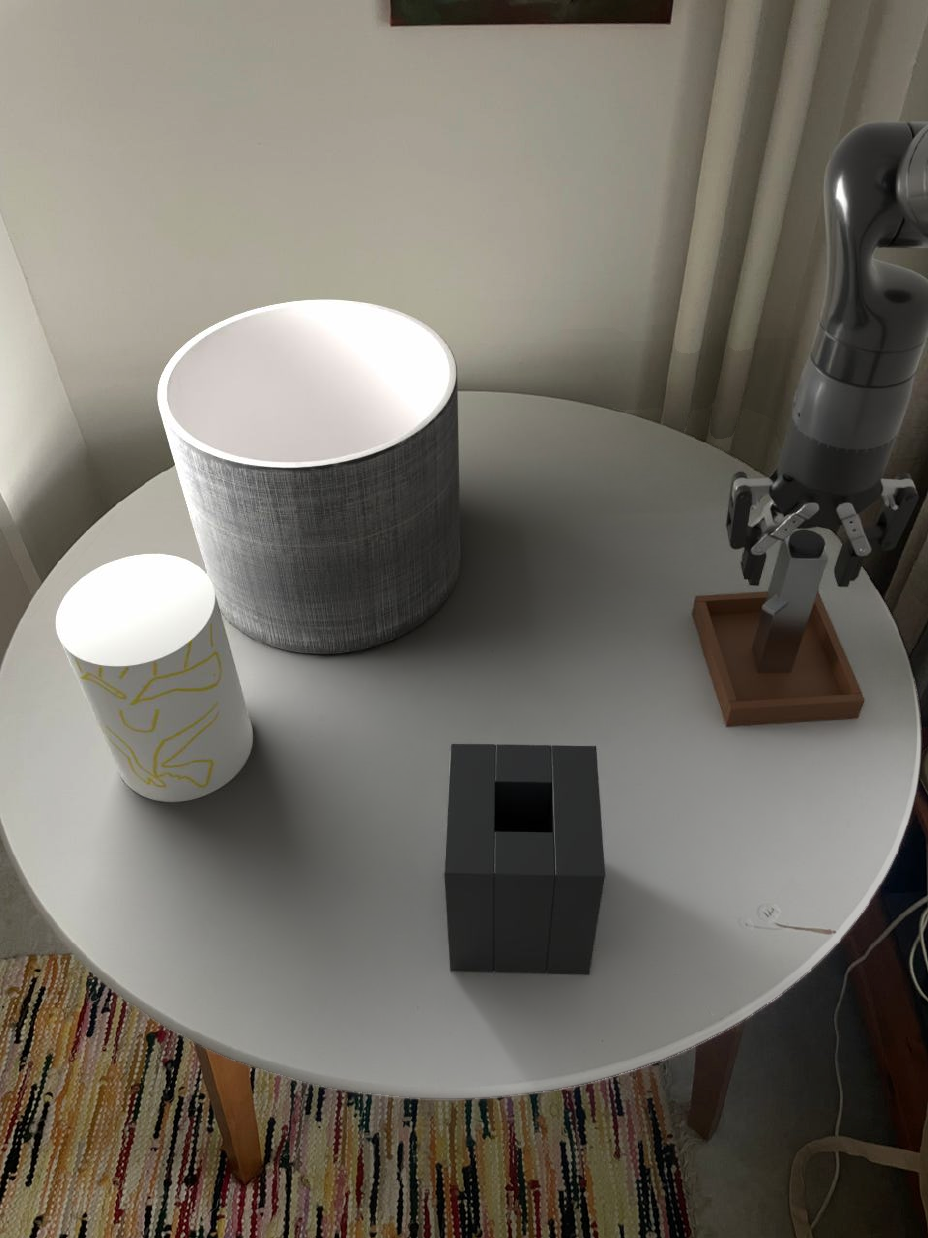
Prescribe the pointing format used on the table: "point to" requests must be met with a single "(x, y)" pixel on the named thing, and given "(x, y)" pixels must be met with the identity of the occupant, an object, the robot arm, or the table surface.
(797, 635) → the grey square bar
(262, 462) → the planter
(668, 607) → the table surface
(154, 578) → the white patterned cylinder
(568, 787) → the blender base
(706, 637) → the tray
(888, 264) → the robot arm
